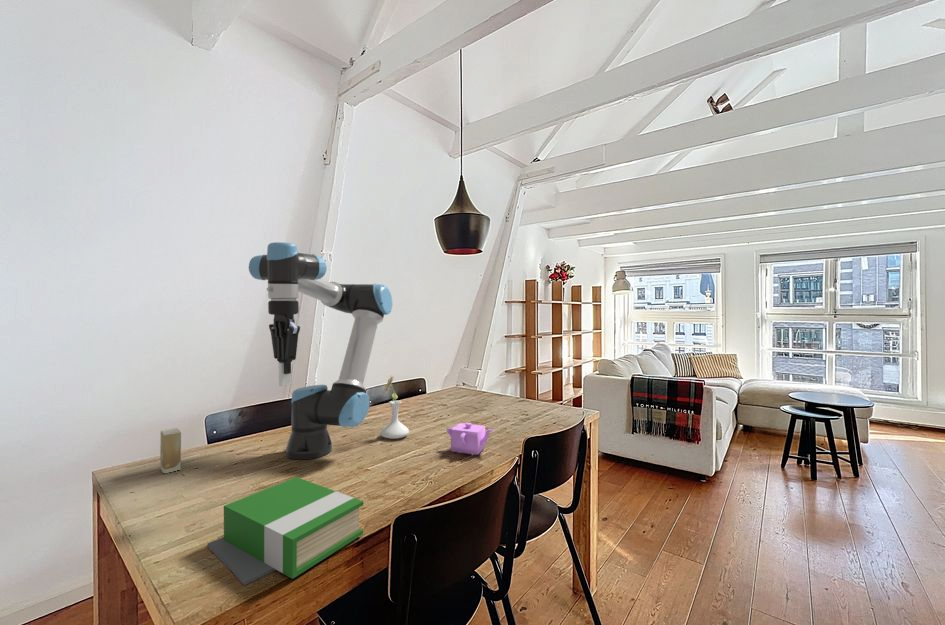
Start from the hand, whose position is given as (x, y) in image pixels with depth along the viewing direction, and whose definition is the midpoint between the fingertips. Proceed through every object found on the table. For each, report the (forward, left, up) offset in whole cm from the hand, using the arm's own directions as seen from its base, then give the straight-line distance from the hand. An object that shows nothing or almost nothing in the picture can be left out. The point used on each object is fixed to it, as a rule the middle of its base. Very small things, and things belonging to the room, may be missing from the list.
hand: (285, 385), depth 111 cm
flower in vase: (-14, +50, -30) cm, 60 cm away
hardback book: (+12, -11, -25) cm, 30 cm away
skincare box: (-42, -16, -30) cm, 54 cm away
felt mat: (+22, -12, -30) cm, 39 cm away
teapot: (+19, +57, -30) cm, 68 cm away
